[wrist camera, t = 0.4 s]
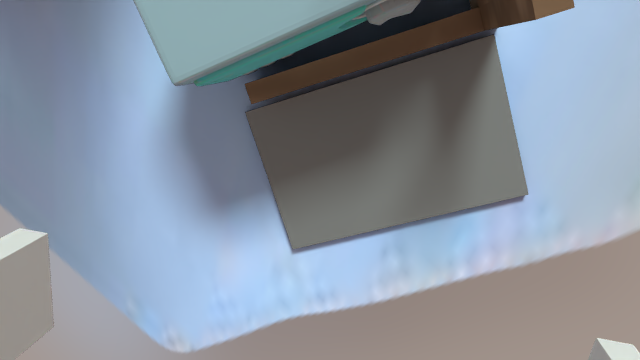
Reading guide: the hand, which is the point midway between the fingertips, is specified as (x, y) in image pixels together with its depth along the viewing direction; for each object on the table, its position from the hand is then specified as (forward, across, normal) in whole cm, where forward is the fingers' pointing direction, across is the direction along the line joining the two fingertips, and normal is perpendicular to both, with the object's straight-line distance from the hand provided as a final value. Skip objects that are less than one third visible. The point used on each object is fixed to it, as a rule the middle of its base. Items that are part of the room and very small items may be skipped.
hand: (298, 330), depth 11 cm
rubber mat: (+26, +2, -1) cm, 26 cm away
